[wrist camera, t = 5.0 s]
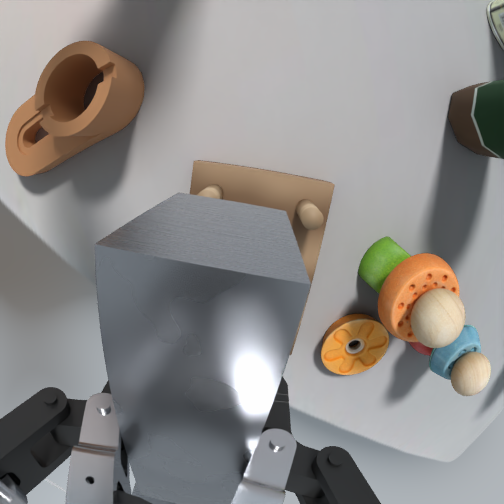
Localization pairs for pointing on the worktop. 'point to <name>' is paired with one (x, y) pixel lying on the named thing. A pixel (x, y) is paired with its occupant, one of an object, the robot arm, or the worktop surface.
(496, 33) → the coffee can
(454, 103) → the beer bottle
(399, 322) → the wooden stacking toy
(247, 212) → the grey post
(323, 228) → the rack
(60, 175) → the worktop surface
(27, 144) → the bracket
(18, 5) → the worktop surface
